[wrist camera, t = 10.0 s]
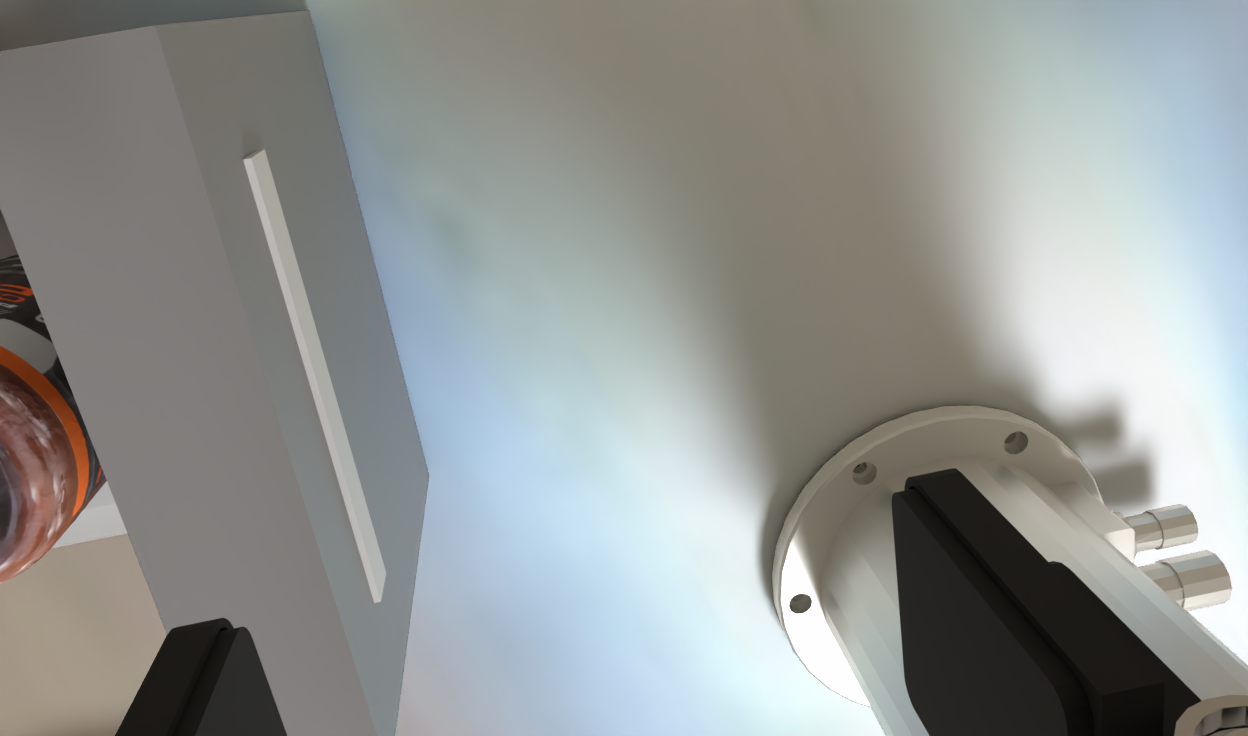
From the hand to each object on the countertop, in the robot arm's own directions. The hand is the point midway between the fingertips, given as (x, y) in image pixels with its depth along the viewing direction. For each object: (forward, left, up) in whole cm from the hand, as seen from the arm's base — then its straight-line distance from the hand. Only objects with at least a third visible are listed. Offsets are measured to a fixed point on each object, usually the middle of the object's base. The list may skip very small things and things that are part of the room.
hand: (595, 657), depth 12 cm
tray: (+16, 0, -21) cm, 27 cm away
